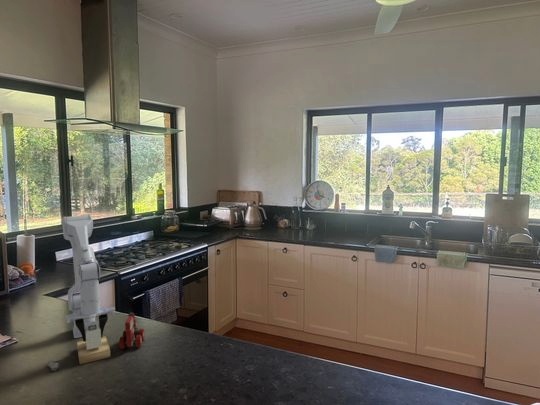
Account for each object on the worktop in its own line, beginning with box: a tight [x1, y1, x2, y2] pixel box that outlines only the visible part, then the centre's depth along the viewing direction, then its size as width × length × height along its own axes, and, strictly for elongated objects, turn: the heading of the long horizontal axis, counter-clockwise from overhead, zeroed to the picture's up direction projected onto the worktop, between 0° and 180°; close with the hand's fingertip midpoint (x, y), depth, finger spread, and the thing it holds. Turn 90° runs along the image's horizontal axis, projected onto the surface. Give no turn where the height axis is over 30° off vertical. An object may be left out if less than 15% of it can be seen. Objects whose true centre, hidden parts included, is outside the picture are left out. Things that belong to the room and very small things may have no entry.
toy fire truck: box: [118, 312, 145, 350], centre depth 134 cm, size 7×12×10 cm, turn 10°
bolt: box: [46, 360, 61, 372], centre depth 119 cm, size 5×2×2 cm, turn 50°
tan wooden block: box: [76, 335, 111, 365], centre depth 128 cm, size 12×9×2 cm
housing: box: [84, 320, 102, 350], centre depth 128 cm, size 8×4×7 cm, turn 30°
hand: (92, 338), depth 128 cm, fingers closed on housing, 4 cm apart
